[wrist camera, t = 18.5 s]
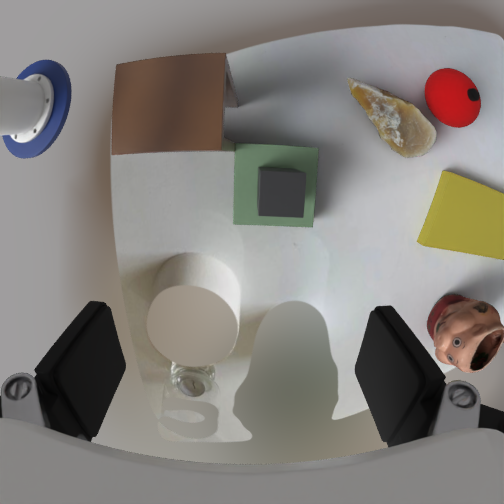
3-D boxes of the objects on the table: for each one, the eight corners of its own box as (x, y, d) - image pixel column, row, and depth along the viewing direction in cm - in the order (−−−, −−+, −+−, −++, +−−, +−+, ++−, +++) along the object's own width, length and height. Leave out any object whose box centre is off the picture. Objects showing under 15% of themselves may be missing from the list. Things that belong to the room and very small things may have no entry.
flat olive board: (512, 198, 37) (431, 167, 36) (519, 201, 35) (439, 168, 34) (498, 256, 41) (416, 241, 40) (505, 260, 39) (423, 245, 38)
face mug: (489, 280, 43) (531, 312, 29) (473, 329, 47) (507, 365, 34) (419, 289, 43) (463, 333, 30) (404, 345, 47) (436, 393, 34)
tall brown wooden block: (176, 151, 35) (111, 155, 18) (178, 101, 33) (116, 64, 15) (236, 151, 36) (221, 150, 18) (238, 100, 33) (225, 52, 15)
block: (256, 203, 34) (258, 216, 28) (258, 166, 33) (259, 170, 26) (293, 205, 34) (303, 218, 28) (295, 168, 33) (306, 173, 26)
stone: (439, 161, 29) (351, 86, 26) (409, 166, 35) (327, 105, 32) (448, 121, 29) (367, 50, 26) (420, 130, 35) (344, 70, 32)
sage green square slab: (234, 218, 39) (233, 224, 35) (236, 144, 35) (235, 143, 32) (307, 220, 39) (312, 227, 35) (312, 148, 35) (318, 148, 32)
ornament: (416, 124, 34) (456, 121, 24) (410, 68, 30) (447, 54, 21) (457, 131, 33) (499, 132, 24) (452, 80, 30) (491, 72, 21)
